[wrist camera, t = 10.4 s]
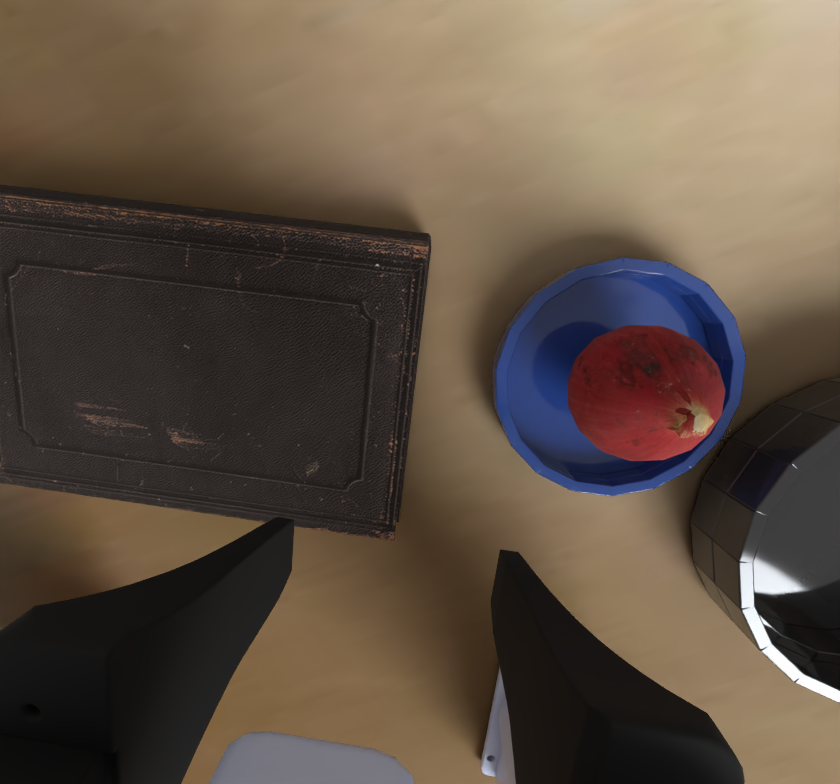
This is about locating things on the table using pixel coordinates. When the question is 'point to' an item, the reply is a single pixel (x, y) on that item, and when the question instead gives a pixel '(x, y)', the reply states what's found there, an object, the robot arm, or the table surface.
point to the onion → (645, 393)
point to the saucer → (570, 334)
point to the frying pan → (779, 534)
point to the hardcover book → (208, 358)
